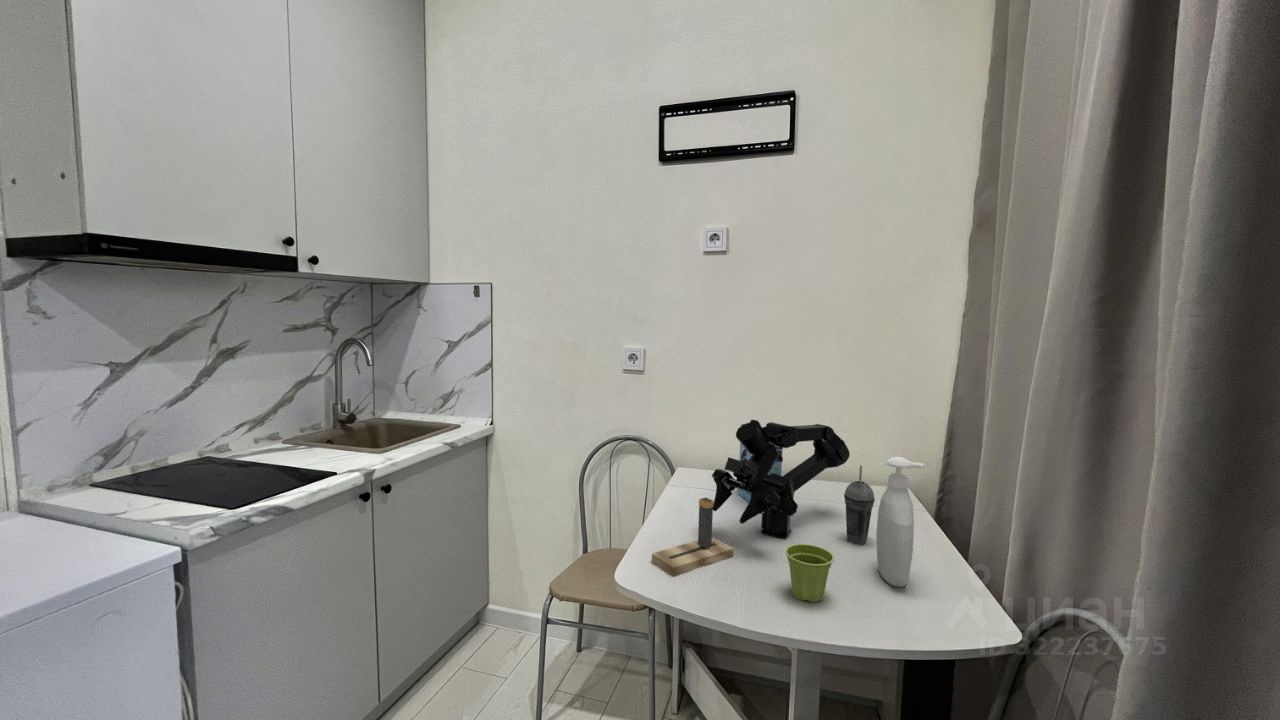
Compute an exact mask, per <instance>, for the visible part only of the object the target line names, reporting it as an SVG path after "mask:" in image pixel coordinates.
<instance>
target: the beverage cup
mask: <svg viewBox="0 0 1280 720" xmlns="http://www.w3.org/2000/svg"><path fill="white" fill-rule="evenodd" d="M862 473H863V465H859V473H858V474H859V475H858V477H859V478H858V480H855V481H853V482H850V483H849V484H848V485H847V486H846V489H845V490H844V494H843V497H844V504H845V518H846V519H845V523H846V524H845V525H846V539H847V542H848V543H850V544H852V545H855V546H856V545H857V546H864V545H867V539H868V538H869V537H868V535H869V531H870V523H871V517H872V509H873V507H874V504H875V501H876V498H875V493H874V491H873V488H872V487H871V486H870V485H869V484H868V483H866V482H864V481H862V476H863V475H862Z"/></svg>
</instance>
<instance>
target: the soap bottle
mask: <svg viewBox="0 0 1280 720" xmlns="http://www.w3.org/2000/svg"><path fill="white" fill-rule="evenodd" d="M886 465H887V466H889V467H892V468H895V472H892V473H890V474H889V475H888V481H887V482H888V484H887V486H886V489H885V491H884V492H883V494H882V495H881V497H880V502H879V505H878V510H877V520H876V534H875V536H876V560H877V561H876V562H877V568H878V571H879V573H880V575H881V577H882V578H883V579H884V580H885V581H886V582H887V583H888V584H889V585H891V586H893V587H898V588H902V587H904V586H906V585H907V583H908V581H909V578H910V573H911V572H910V571H911V565H912V562H913V561H912V560H913V553H914V538H915V537H914V534H915V533H914V529H915V527H914V526H915V524H914V523H915V516H914V507H913V505H914V504H913V502H912V498H911V497H910V494H909V490H908V481H909V480H908V477H907V476H906V475H905V474H904V473H902V469H912V468H914V469H915V468H918V469H922V468H923V467H924V465H925V464H924V463H922V462H913V461H911V460H908V459H907V458H905V457H902V456H893V457H891V458H889V459H888V460H887V461H886Z"/></svg>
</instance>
